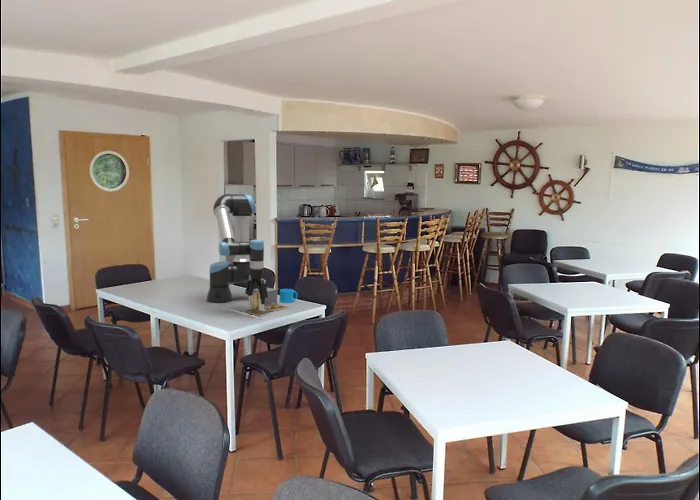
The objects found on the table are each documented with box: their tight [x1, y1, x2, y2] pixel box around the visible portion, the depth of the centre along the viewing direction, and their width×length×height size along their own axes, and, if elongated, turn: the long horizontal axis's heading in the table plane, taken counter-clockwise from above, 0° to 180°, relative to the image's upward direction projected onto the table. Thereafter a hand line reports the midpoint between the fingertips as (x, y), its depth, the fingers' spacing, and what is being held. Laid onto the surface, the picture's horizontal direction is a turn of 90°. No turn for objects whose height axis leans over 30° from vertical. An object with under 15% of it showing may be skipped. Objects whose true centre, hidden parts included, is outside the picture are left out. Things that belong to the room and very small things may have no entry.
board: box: [264, 303, 292, 312], centre depth 301 cm, size 12×12×4 cm
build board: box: [245, 308, 275, 318], centre depth 292 cm, size 11×11×2 cm
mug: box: [279, 288, 298, 304], centre depth 318 cm, size 12×8×8 cm
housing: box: [253, 287, 278, 307], centre depth 310 cm, size 10×10×10 cm
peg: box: [252, 292, 260, 313], centre depth 289 cm, size 3×3×12 cm
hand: (256, 308), depth 289 cm, fingers open, 8 cm apart
